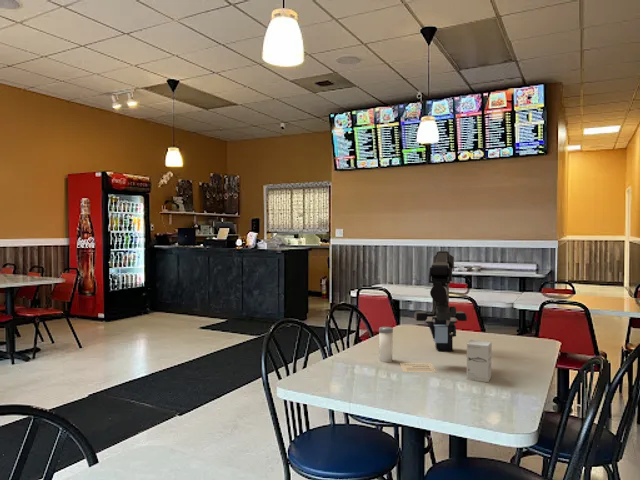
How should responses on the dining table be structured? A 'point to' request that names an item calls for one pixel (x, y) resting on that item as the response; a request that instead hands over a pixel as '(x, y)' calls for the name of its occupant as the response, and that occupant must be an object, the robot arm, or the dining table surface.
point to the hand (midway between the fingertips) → (440, 338)
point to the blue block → (441, 334)
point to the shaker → (385, 344)
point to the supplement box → (479, 360)
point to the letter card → (417, 367)
